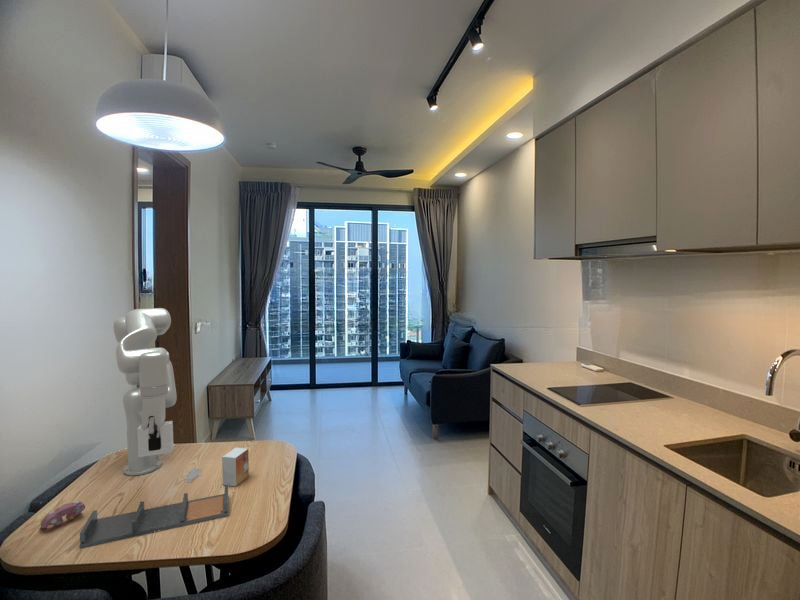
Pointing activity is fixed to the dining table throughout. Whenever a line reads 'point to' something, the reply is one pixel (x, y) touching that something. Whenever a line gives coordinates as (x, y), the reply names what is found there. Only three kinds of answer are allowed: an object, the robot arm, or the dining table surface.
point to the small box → (235, 466)
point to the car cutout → (192, 474)
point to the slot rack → (152, 519)
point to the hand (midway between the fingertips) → (156, 446)
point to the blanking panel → (165, 438)
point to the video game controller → (62, 514)
